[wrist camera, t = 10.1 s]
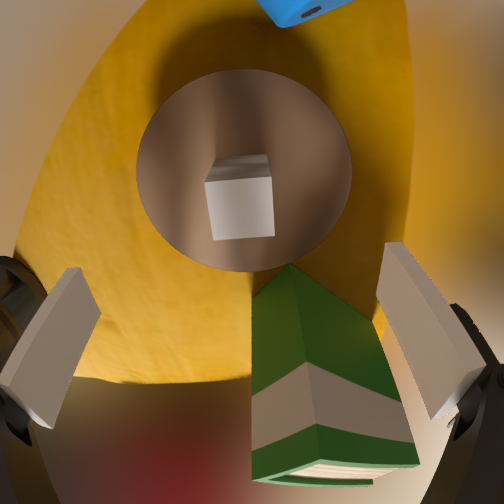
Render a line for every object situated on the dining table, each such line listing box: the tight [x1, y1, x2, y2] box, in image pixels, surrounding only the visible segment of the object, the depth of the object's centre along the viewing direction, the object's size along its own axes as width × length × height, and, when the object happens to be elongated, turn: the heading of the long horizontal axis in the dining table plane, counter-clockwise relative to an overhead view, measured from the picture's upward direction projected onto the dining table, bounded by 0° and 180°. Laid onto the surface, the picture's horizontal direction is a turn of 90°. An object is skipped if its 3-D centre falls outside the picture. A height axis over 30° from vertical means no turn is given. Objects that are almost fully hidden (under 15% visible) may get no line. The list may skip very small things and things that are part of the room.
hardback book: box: [252, 263, 420, 487], centre depth 30 cm, size 18×7×24 cm, turn 52°
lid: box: [136, 69, 352, 272], centre depth 21 cm, size 18×18×7 cm
